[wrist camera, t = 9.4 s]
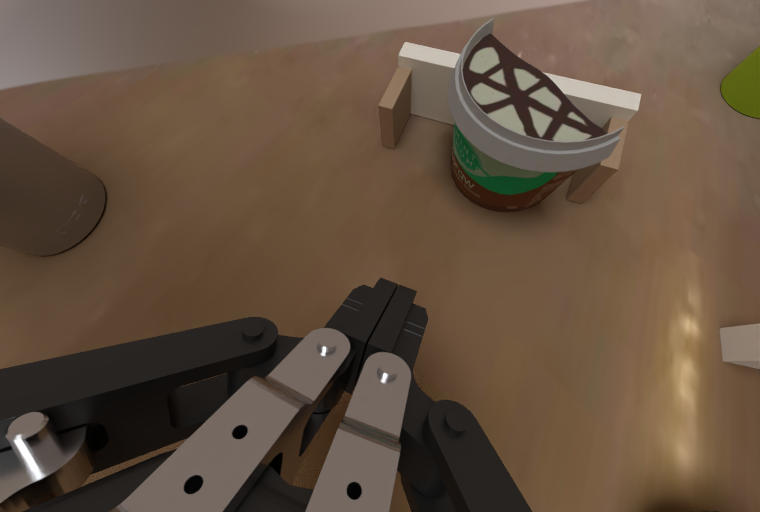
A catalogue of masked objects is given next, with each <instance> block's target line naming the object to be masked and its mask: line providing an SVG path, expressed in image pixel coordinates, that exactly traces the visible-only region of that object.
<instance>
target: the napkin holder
mask: <svg viewBox="0 0 760 512" xmlns="http://www.w3.org/2000/svg"><path fill="white" fill-rule="evenodd" d="M720 337H721V347H722V357H723V361H724V362H729V363H734V364H739V365H743V366H748V367H753V368H757V369H760V323H759V324H751V325H742V326H734V327H726V328H720Z"/></svg>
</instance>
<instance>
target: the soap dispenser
mask: <svg viewBox="0 0 760 512" xmlns="http://www.w3.org/2000/svg"><path fill="white" fill-rule="evenodd" d="M721 93H722V96H723V98H724V99H725V101H726V102H727V103H728V104H729V105H730V106H731V107H732V108H734V109H735V110H737V111H738V112H740V113H742V114H744V115H747V116H750V117H754V118H759V119H760V46H759V47H758V48H757V49H756V50H755V51H754V52H753V53H752V54H750V55H749V56H748V57H747V58H746V59H745V60H744V61H743V62H742V63H740V64H739V65H738V66H737V67H736V68H735V69H734V70H733V71H732V72H730V73H729V74H728V75H727V76H726V77H725V78H724V79H723V81H722V83H721Z"/></svg>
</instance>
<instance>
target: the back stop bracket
mask: <svg viewBox="0 0 760 512" xmlns="http://www.w3.org/2000/svg"><path fill="white" fill-rule="evenodd" d="M459 56H460V54H457V53H453V52H448V51H444V50H439V49H435V48H430V47H426V46H421V45H417V44H412V43H408V42H405V43H404V45H403V47H402V49H401V51H400V53H399V55H398V64H399V66H398V68H397V70H396V72H395V74H394V76H393V78H392V80H391V82H390V84H389V86H388V88H387V90H386V92H385V94H384V96H383V98H382V100H381V102H380V104H379V115H380V125H381V135H382V145H383V146H385V147H389V148H392V149H394V148H395V146H396V144H397V142H398V140H399V138H400V135H401V133H402V131H403V129H404V127H405V125H406V123H407V120H408V118H409V116H410V114H414V115H418V116H421V117H425V118H429V119H433V120H436V121H440V122H444V123H448V124H451V125H454V122H455V121H454V119H453V117H452V114H451V111H450V108H449V102H448V87H449V82H450V79H451V76H452V73H453V71H454V68H455V66H456V63H457V61H458V58H459ZM542 73H543V72H542ZM544 74H546V75H547V76H548V77H549V78H550V79H551V80H552V81H553V82H554V83H555V84H556V85H557V86H558V87H559V89H560V90H561V91H562V92H563V93H564V94H565V96H566V97H567V98H568V99H569V100H570V101H571V103H572V104H573V105H574V106H575V107H576V108H577V109H578V110H579V111H580V112H582V113H583V114H584V115H585V116H586V117H587V118H588V119H589V120H590V121H592V122H593V123H595V124H596V125H597V126H599V127H601V128H602V129H603V130H604V131H605V132H606V133H607V134H609V133H612V132H614V131H616V130H618V129H620V128H622V127H623V126H624V127H625V128H624V129H623V130H622V131H621V132H620V134H619V135H618V136H619V137H620V138H621V139H620V141H619V142H618V144H617V145H616V147H615V149H614V150H613V152H612V154H611V155H610V157H608V158H606V159H604V160H602V161H601V162H599V163H596V164H593V165H591V166H588V167H585V168H581V169H578V170H577V171H576V172H575V173H574V174H573V177H572V181H571V184H570V188H569V192H568V196H567V200H569V201H573V202H576V203H580V204H581V203H583V202H584V201H585V200H586V199H587V198H588V197H589V196H590V195H591V194H592V193H593V192H595V191H596V190H597V189H598V188H599V187H600V186H601V185H602V184H603V183H604V182H605V181H607V180H608V179H609V178H610V177H611V176H612V175H613V174H614V173H615V172H616V171H617V170H618V169H619V164H620V159H621V155H622V150H623V145H624V140H625V136H626V131H627V126H628V121H629V120H630V119H631V118H632V117H633V116H634V115H635V113H636V112H637V111H638V108H639V103H640V98H641V94H638V93H633V92H629V91H624V90H620V89H615V88H611V87H606V86H602V85H597V84H593V83H588V82H584V81H579V80H575V79H570V78H566V77H561V76H557V75H552V74H548V73H544Z"/></svg>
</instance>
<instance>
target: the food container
mask: <svg viewBox="0 0 760 512" xmlns="http://www.w3.org/2000/svg"><path fill="white" fill-rule="evenodd" d="M493 24H494V18H493V19H491V20H490V21H488V22H487V23H485V24H484V25H483V26H482V27H480V28H479V29H478V30H477V31H476V32H475V33H474V35H473V36H472V37H471V39H470V40H469V42H468V43H467V45H466V46H465V47H464V49H463V51H462V52H461V54H460V56H459V58H458V61H457V63H456V66H455V68H454V71H453V73H452V76H451V79H450V82H449V87H448V102H449V108H450V111H451V114H452V117H453V119H454V121H455V122H454V133H453V144H452V154H451V172H452V178H453V180H454V182H455V184H456V186H457V188H458V189H459V191H460V192H461V193H462V194H463V195H464V196H465V197H466V198H467V199H469V200H470V201H471V202H473V203H474V204H476V205H478V206H480V207H483V208H486V209H489V210H493V211H499V212H514V211H520V210H524V209H527V208H530V207H533V206H534V205H536V204H538V203H540V202H541V201H542V200H543V199H545V198H546V197H547V196H548V195H549V194H550V193H552V192H553V191H554V190H555V189H556V188H557V187H558V186H560V185H561V184H562V183H563V182H564V181H565V180H567V179H568V178H569V177H570V176H571V175H572V174H574V173H575V172H576V171H577V170H578V169H581V168H585V167H588V166H591V165H593V164H596V163H599V162H601V161H602V160H604V159H606V158H608V157H610V155H611V154H612V152H613V150H614V149H615V147H616V145H617V144H618V142H619V141H620V139H621V138H620V137H619V136H618V135H619V134H620V132H621V131H622V130H623V129H624V128H625V127H624V126H623V127H622V128H620V129H618V130H616V131H614V132H612V133H609V134H607V133H606V132H605V131H604V130H603V129H602V128H601V127H599V126H597V125H596V124H595V123H593V122H592V121H590V120H589V119H588V118H587V117H586V116H585V115H584V114H583V113H582V112H580V111H579V110H578V109H577V108H576V107H575V106H574V105H573V104H572V103H571V101H570V100H569V99H568V98H567V97H566V96H565V94H564V93H563V92H562V91H561V90H560V89H559V87H558V86H557V85H556V84H555V83H554V82H553V81H552V80H551V79H550V78H549V77H548V76H547V75H546V74H544V73H542V72H541V71H540V70H538V69H537V68H535V67H533V66H531V65H530V64H528V63H526V62H525V61H523V60H522V59H520V58H519V57H517V56H516V55H514V54H513V53H512V52H511V51H510V50H509V49H507V48H506V47H505V46H504V45H503V44H502V43H501V42H499V41H498V40H497V39H496V38H495V37H494V36H493V35H492V29H493Z"/></svg>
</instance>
